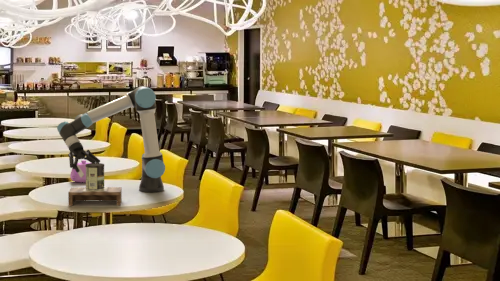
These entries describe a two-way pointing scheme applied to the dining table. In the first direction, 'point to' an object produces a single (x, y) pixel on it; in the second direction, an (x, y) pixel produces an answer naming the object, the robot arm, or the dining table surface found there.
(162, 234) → the dining table surface
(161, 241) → the dining table surface
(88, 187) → the coffee can
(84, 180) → the teapot
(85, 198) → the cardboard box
